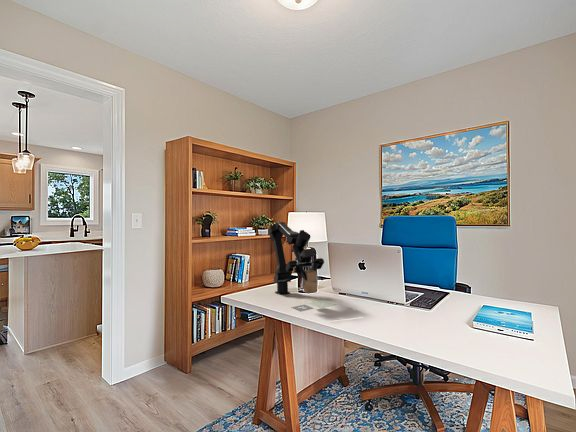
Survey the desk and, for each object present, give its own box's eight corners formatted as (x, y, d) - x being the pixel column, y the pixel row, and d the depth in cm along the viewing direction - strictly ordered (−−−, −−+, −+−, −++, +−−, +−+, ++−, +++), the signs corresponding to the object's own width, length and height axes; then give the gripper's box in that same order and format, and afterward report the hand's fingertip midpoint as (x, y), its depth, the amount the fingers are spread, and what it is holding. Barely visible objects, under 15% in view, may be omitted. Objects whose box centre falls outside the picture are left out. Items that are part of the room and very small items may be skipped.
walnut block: (303, 291, 148) (303, 270, 148) (312, 290, 150) (311, 269, 150) (308, 293, 144) (307, 271, 144) (316, 292, 146) (316, 271, 146)
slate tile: (290, 308, 146) (290, 307, 146) (304, 305, 150) (304, 304, 150) (300, 312, 139) (300, 311, 139) (314, 309, 144) (314, 308, 144)
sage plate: (308, 303, 153) (308, 302, 153) (324, 300, 158) (324, 299, 158) (321, 308, 144) (321, 307, 144) (337, 305, 150) (337, 304, 150)
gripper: (287, 243, 147) (298, 270, 136) (322, 241, 154) (334, 267, 144) (281, 258, 154) (291, 285, 144) (314, 256, 161) (326, 281, 151)
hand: (311, 279), depth 146 cm, fingers closed on walnut block, 5 cm apart
